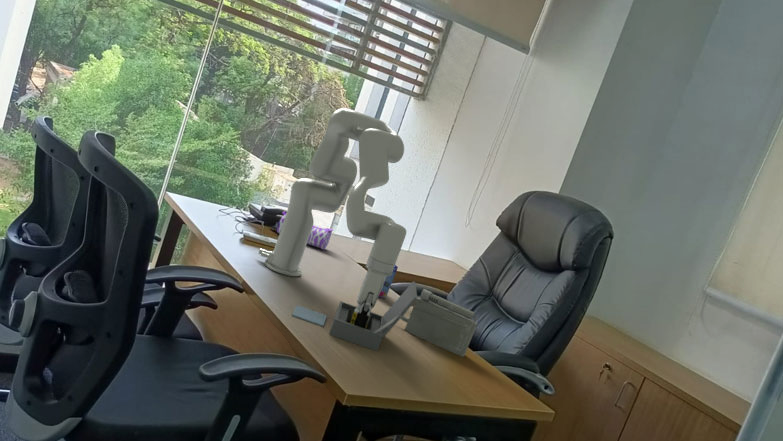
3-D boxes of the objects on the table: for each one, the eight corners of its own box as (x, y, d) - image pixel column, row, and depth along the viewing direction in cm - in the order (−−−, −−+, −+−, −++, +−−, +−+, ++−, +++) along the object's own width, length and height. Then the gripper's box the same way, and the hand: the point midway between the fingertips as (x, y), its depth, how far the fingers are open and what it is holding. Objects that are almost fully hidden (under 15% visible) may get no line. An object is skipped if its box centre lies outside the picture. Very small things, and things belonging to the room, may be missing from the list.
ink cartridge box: (386, 299, 233) (401, 260, 231) (373, 296, 230) (387, 257, 228) (375, 288, 241) (389, 251, 239) (362, 285, 239) (376, 248, 236)
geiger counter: (482, 313, 202) (408, 280, 209) (478, 316, 196) (402, 282, 203) (466, 354, 204) (393, 320, 211) (461, 359, 198) (386, 324, 205)
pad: (291, 315, 182) (292, 314, 182) (296, 306, 191) (297, 305, 191) (323, 326, 183) (323, 325, 183) (326, 316, 192) (327, 315, 191)
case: (328, 335, 178) (350, 274, 175) (335, 315, 196) (355, 260, 193) (394, 358, 179) (417, 298, 176) (395, 336, 197) (415, 281, 194)
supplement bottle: (347, 327, 190) (357, 299, 188) (362, 332, 190) (372, 305, 189) (347, 332, 185) (357, 305, 184) (363, 338, 185) (373, 310, 184)
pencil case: (272, 233, 267) (279, 211, 266) (278, 230, 276) (285, 208, 275) (323, 253, 266) (331, 231, 265) (328, 249, 275) (335, 227, 274)
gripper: (368, 255, 193) (349, 309, 195) (365, 268, 176) (344, 327, 178) (393, 263, 193) (373, 317, 196) (392, 277, 176) (371, 336, 178)
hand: (359, 322), depth 187 cm, fingers open, 9 cm apart
